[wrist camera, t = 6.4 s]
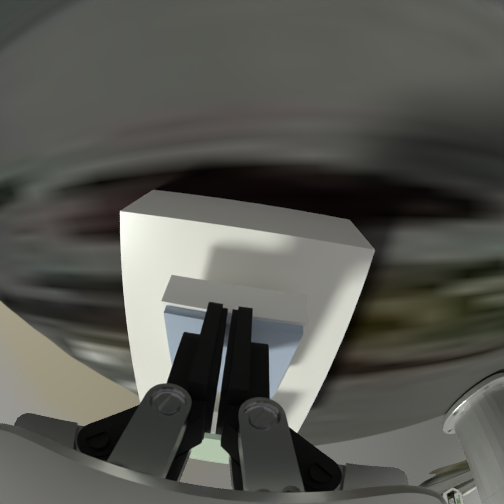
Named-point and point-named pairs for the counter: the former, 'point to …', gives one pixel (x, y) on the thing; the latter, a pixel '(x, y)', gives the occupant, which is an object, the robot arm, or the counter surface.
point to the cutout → (453, 496)
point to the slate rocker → (231, 296)
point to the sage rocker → (211, 446)
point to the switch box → (241, 276)
